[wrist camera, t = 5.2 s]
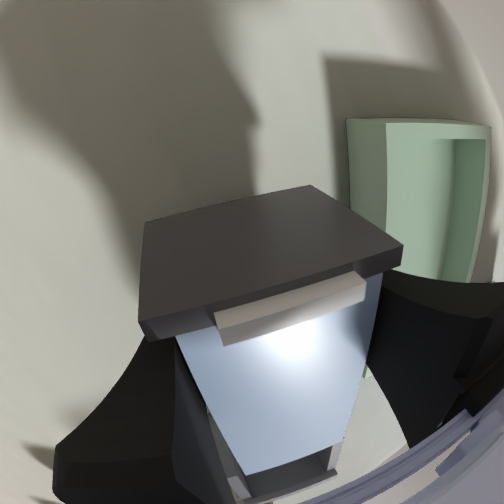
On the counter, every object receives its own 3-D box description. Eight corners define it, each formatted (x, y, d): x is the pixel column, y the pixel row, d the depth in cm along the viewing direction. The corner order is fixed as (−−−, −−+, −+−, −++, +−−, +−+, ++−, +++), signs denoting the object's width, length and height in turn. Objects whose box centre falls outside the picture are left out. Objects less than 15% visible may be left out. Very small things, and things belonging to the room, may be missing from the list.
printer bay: (311, 382, 21) (348, 444, 15) (310, 428, 24) (336, 477, 19) (207, 415, 19) (227, 486, 14) (229, 454, 23) (246, 508, 17)
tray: (456, 120, 15) (491, 127, 12) (433, 307, 22) (456, 326, 19) (345, 119, 13) (385, 123, 10) (343, 351, 20) (364, 379, 17)
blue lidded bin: (310, 184, 11) (417, 254, 6) (312, 367, 16) (356, 443, 12) (144, 222, 10) (137, 338, 5) (211, 399, 15) (236, 487, 10)
